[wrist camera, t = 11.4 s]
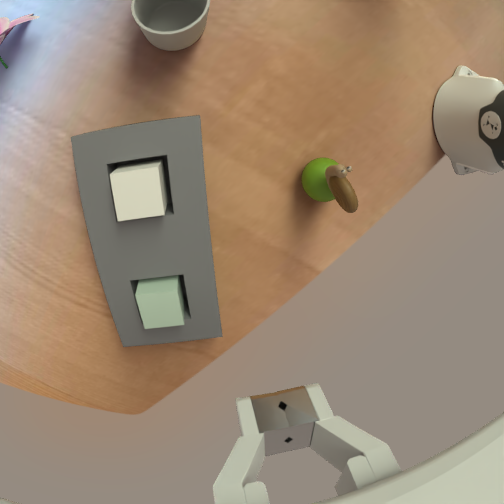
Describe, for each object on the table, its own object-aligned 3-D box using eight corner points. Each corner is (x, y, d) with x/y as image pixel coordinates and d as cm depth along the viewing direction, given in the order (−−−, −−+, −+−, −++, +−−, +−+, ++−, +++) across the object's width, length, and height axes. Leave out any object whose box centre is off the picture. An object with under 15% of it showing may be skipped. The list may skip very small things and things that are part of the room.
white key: (162, 159, 33) (158, 166, 29) (167, 201, 36) (164, 215, 31) (120, 165, 33) (109, 174, 28) (126, 207, 35) (117, 221, 30)
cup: (165, 63, 30) (157, 49, 22) (121, 7, 26) (103, -18, 18) (217, 30, 30) (225, 7, 22) (172, -25, 25) (169, -57, 17)
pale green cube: (178, 269, 39) (177, 290, 35) (184, 301, 42) (184, 324, 37) (140, 274, 39) (135, 295, 34) (148, 305, 41) (144, 328, 36)
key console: (199, 115, 34) (200, 115, 29) (218, 315, 46) (222, 336, 42) (85, 133, 32) (70, 137, 27) (127, 325, 44) (123, 346, 40)
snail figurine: (321, 140, 38) (369, 155, 27) (340, 182, 41) (389, 210, 30) (285, 160, 38) (322, 182, 28) (306, 202, 41) (346, 237, 30)
